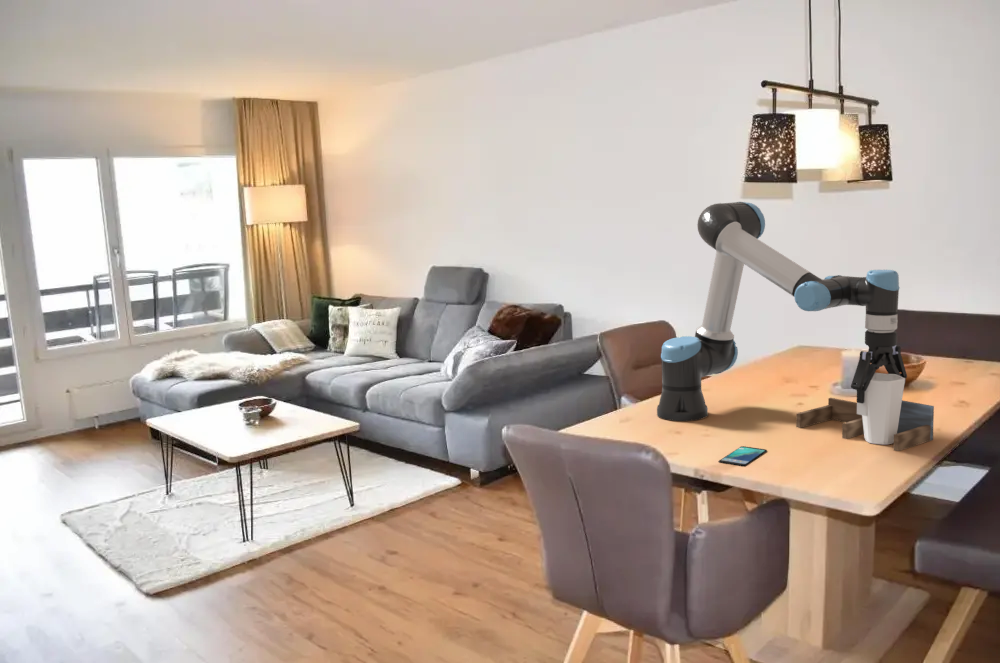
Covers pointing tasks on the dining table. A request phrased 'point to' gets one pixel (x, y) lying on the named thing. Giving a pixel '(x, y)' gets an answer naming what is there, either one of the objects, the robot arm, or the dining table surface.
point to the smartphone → (743, 456)
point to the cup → (883, 408)
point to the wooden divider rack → (910, 431)
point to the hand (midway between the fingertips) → (878, 410)
